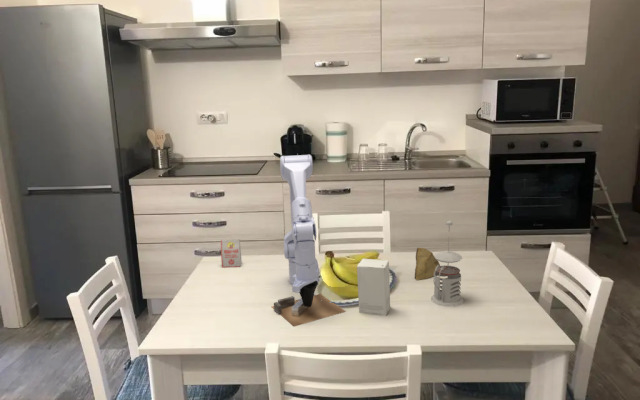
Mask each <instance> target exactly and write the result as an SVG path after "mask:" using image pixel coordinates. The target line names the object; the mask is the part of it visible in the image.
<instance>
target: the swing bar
mask: <svg viewBox="0 0 640 400" xmlns="http://www.w3.org/2000/svg"><path fill="white" fill-rule="evenodd" d="M299 299H300V300H299V301H298V302H297V303H296V304H295V305H294V306H293V307H292V315H294V316H299V315H300V314H301V313H302V312H303V311H304V310H305V309H306V306H304V304H303V301H302V298H301V297H300V298H299Z"/></svg>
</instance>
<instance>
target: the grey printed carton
mask: <svg viewBox="0 0 640 400" xmlns="http://www.w3.org/2000/svg"><path fill="white" fill-rule="evenodd" d="M240 242H241V241H240V239H221V240H220V260H221V268H223V269H225V268H226V269H228V268H241V267H242V264H243V262H242V261H243V260H242V249H241V243H240Z"/></svg>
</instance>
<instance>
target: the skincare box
mask: <svg viewBox="0 0 640 400" xmlns="http://www.w3.org/2000/svg"><path fill="white" fill-rule="evenodd" d="M356 269H357V270H356V273H357V274H356V275H357V276H356V277H357V298H358V313H361V314H368V315H375V316H376V315H377V316H387V315H388V313H389V311H390V309H391V290H390V287H391V285H390V261H389V259H376V258H375V259H374V258H373V259H372V258H362V259H361V260H360V261H359V262H358V264H357V266H356Z"/></svg>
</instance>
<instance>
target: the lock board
mask: <svg viewBox="0 0 640 400" xmlns="http://www.w3.org/2000/svg"><path fill="white" fill-rule="evenodd" d="M300 299H301V298H297V299H295V296H287V297H285V298H280V299H277V301H275V302H273V305H272V306H271V309H273V311H274V312H275V313H276V314H277V315H280V316H281V317H282V319H284V320H285V321H286V322H288V323H289V324H290V325H291V326H292V327H298V326H301V325H304V324H307V323H311V322H315V321H318V320H322V319H325V318H329V317H331V316H332V317H333V316H335V315H339V314H342V313H346V312H347V311H346V310H345V309H343V308H341V306H339V305H337V304H336V303H334V302H333V301H331V300H330V299H329V298H327V297H326V296H324V295H323V294H321V293H318V294H314V296H313V302H312V306H311V307H306V309H305V310H304V311H303V312H302V313H301V314H300V315H299V316H294V315H292V307H293V306H294V305H295V304H296V303H297V302H298V301H299V300H300ZM321 300H322V301H321ZM330 302H333V303H330Z"/></svg>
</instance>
